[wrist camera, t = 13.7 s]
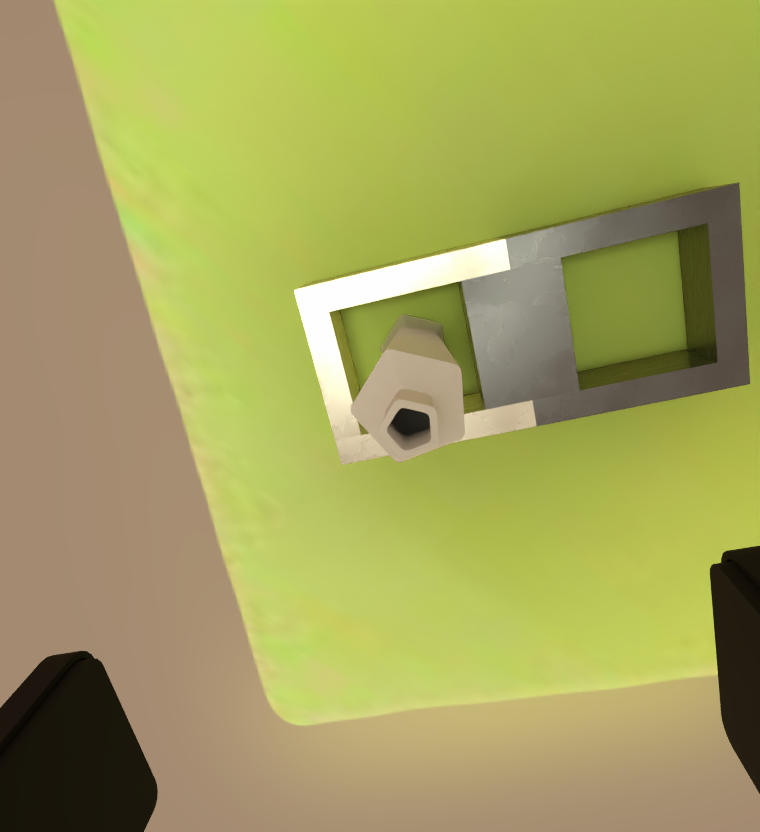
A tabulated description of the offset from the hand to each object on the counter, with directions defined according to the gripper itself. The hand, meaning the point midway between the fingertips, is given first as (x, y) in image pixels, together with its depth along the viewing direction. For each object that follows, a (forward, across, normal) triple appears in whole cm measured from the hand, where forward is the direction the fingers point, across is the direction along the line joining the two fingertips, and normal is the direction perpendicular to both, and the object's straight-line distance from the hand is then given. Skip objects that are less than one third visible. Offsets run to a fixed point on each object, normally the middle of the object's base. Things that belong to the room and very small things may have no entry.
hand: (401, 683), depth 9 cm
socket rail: (+27, -5, 0) cm, 27 cm away
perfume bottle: (+27, +1, 0) cm, 27 cm away
